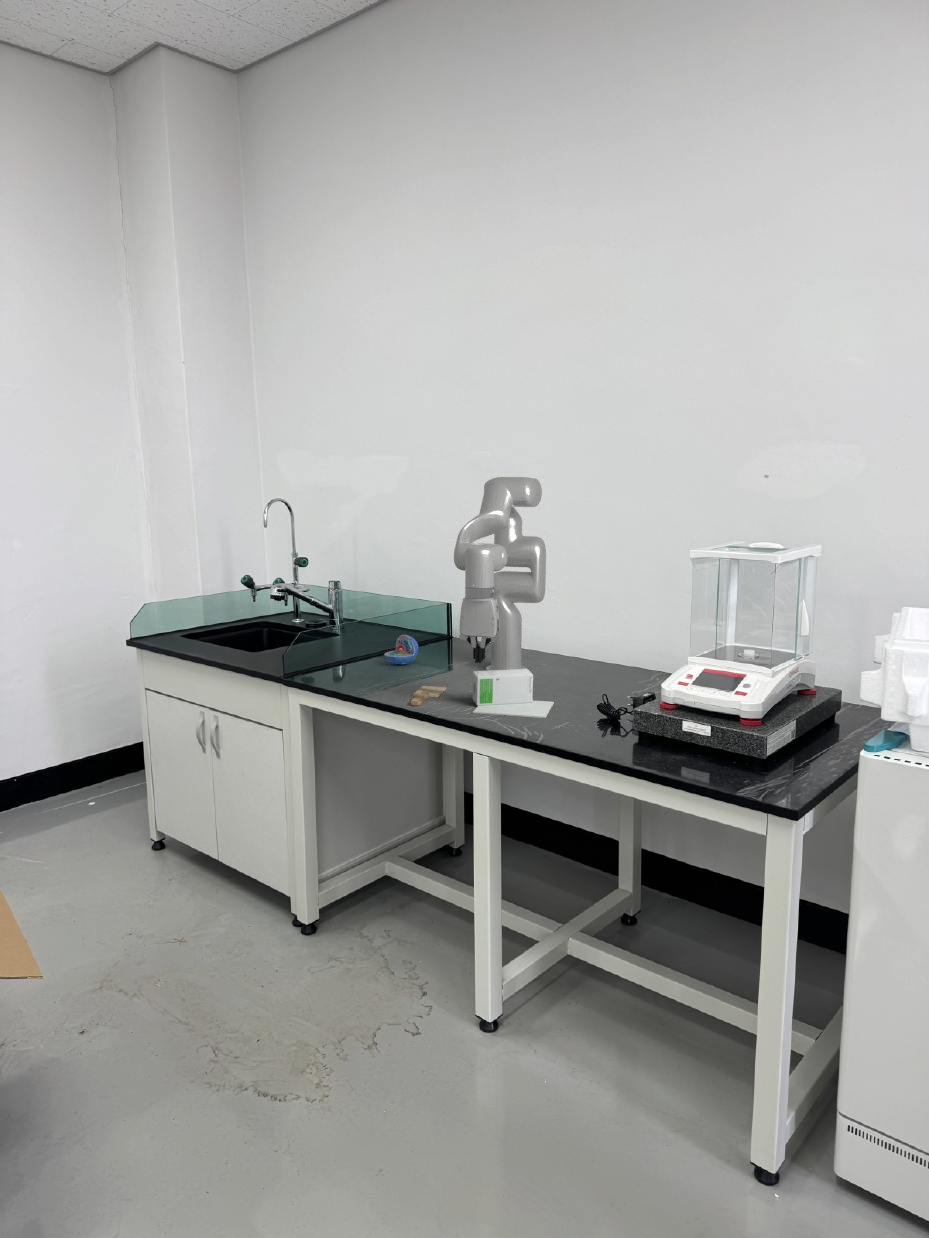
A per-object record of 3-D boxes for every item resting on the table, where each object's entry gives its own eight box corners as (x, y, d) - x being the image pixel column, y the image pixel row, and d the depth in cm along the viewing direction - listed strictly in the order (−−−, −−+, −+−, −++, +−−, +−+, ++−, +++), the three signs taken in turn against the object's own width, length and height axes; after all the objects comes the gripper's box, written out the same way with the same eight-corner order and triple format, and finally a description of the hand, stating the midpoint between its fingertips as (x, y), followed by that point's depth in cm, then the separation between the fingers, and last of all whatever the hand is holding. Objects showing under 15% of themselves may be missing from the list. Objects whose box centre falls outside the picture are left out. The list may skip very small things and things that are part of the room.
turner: (423, 687, 254) (423, 683, 253) (446, 689, 252) (446, 685, 252) (402, 704, 234) (402, 700, 234) (426, 706, 233) (426, 701, 233)
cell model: (377, 664, 283) (377, 635, 281) (406, 659, 291) (406, 631, 289) (396, 669, 276) (396, 640, 274) (425, 664, 284) (425, 635, 282)
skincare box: (476, 677, 230) (533, 673, 233) (471, 670, 236) (527, 666, 239) (476, 707, 232) (533, 703, 235) (472, 699, 238) (527, 696, 241)
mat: (485, 698, 241) (485, 697, 240) (553, 703, 236) (553, 701, 236) (472, 713, 226) (472, 711, 226) (545, 718, 222) (545, 716, 222)
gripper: (510, 592, 230) (509, 660, 233) (455, 590, 234) (455, 657, 237) (504, 596, 223) (503, 666, 226) (448, 594, 227) (448, 663, 230)
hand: (479, 661), depth 231 cm, fingers closed
